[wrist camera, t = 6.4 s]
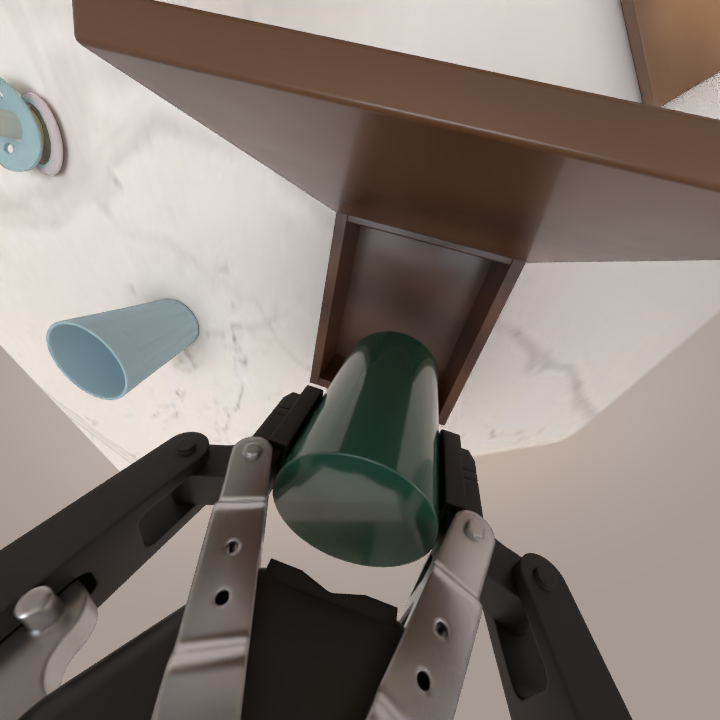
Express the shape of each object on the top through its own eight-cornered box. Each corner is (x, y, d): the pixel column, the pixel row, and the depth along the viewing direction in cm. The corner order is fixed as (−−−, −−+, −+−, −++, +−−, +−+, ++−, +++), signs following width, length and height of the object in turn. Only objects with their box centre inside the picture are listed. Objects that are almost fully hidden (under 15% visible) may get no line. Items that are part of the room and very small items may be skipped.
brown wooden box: (442, 389, 30) (444, 425, 25) (329, 354, 31) (309, 382, 26) (508, 245, 23) (529, 256, 18) (357, 205, 24) (337, 205, 19)
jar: (409, 313, 15) (380, 430, 7) (454, 394, 16) (470, 561, 9) (328, 354, 17) (240, 476, 9) (374, 421, 19) (331, 573, 11)
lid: (1011, 257, 3) (1076, 190, 3) (72, 41, 4) (67, -22, 4) (528, 262, 18) (533, 251, 18) (334, 211, 19) (336, 199, 19)
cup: (217, 351, 35) (141, 401, 26) (166, 352, 37) (78, 399, 28) (193, 287, 31) (96, 320, 22) (138, 292, 33) (29, 324, 24)
